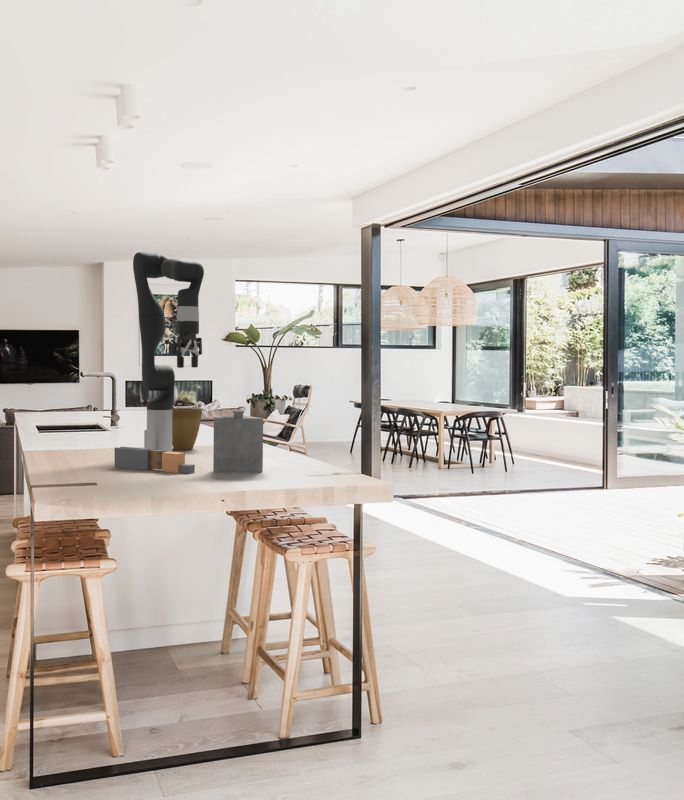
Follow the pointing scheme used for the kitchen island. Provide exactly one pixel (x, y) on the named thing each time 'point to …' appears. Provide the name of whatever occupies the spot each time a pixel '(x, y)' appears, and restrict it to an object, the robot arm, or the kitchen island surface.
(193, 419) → the plant pot
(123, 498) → the kitchen island surface
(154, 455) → the gate
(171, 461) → the orange block
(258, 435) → the hip flask
